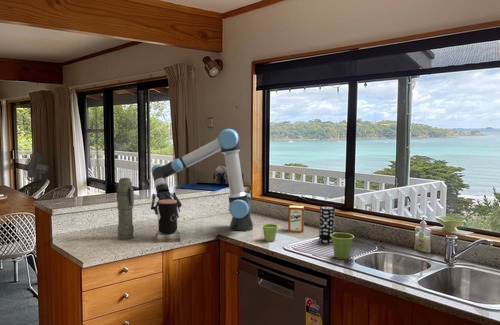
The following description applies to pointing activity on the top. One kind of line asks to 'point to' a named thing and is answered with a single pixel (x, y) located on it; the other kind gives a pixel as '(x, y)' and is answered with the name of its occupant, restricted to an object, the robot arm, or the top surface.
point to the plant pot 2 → (342, 244)
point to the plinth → (167, 237)
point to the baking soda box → (296, 218)
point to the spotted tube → (326, 224)
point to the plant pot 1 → (269, 231)
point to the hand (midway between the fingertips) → (169, 217)
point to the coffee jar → (167, 216)
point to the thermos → (125, 209)
